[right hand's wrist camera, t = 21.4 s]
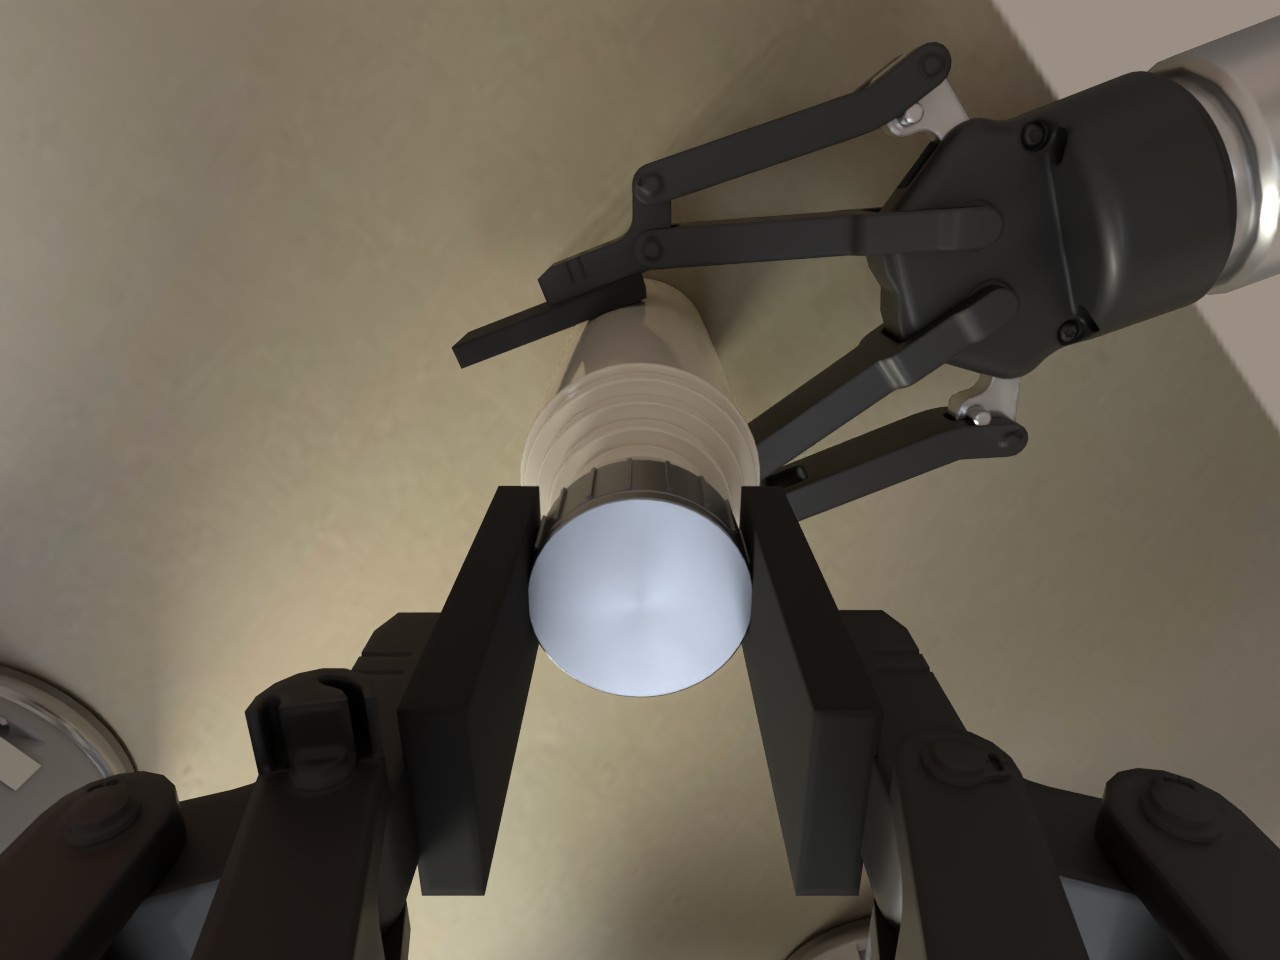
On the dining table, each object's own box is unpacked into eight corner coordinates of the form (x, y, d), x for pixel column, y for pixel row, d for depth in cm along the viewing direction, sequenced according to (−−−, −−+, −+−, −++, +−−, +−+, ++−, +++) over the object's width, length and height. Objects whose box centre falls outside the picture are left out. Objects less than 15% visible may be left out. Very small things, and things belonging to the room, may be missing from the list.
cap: (731, 648, 16) (742, 706, 14) (533, 635, 15) (519, 691, 14) (757, 465, 14) (773, 505, 12) (539, 448, 14) (524, 486, 12)
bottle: (581, 268, 32) (489, 410, 12) (717, 288, 32) (836, 457, 13) (566, 401, 34) (468, 701, 14) (695, 419, 34) (766, 735, 15)
